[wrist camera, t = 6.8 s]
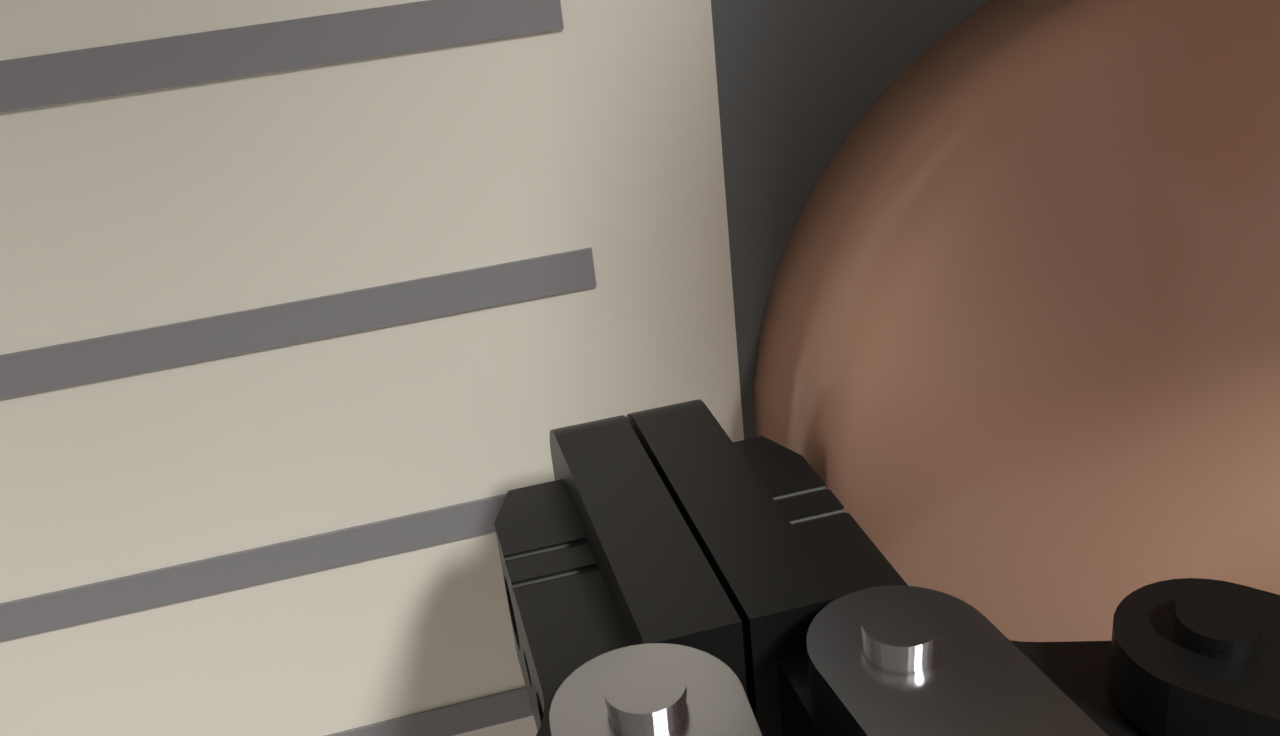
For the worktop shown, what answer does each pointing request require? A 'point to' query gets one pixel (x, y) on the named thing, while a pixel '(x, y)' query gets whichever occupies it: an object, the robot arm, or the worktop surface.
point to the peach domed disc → (1049, 311)
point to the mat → (365, 321)
